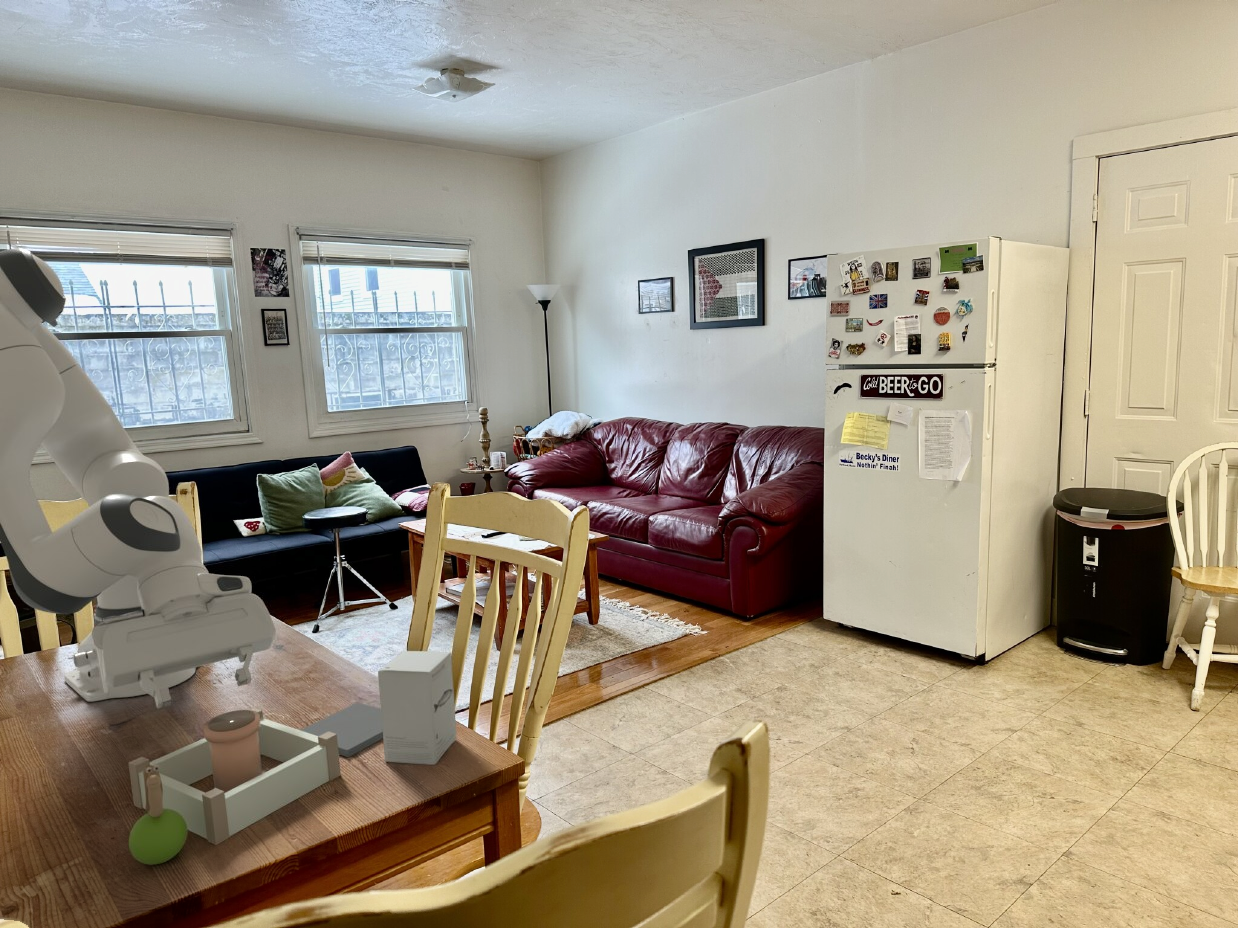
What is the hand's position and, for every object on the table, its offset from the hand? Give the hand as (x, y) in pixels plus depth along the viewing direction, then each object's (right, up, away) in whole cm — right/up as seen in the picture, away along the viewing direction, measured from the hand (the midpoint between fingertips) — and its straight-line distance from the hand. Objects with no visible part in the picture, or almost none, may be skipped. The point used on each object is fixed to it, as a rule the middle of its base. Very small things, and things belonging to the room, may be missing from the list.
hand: (205, 693), depth 104 cm
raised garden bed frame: (+6, -11, -3) cm, 13 cm away
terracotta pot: (+6, -11, -3) cm, 13 cm away
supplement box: (+26, -9, +5) cm, 28 cm away
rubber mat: (+15, -9, +12) cm, 21 cm away
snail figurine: (+4, -13, -17) cm, 22 cm away
